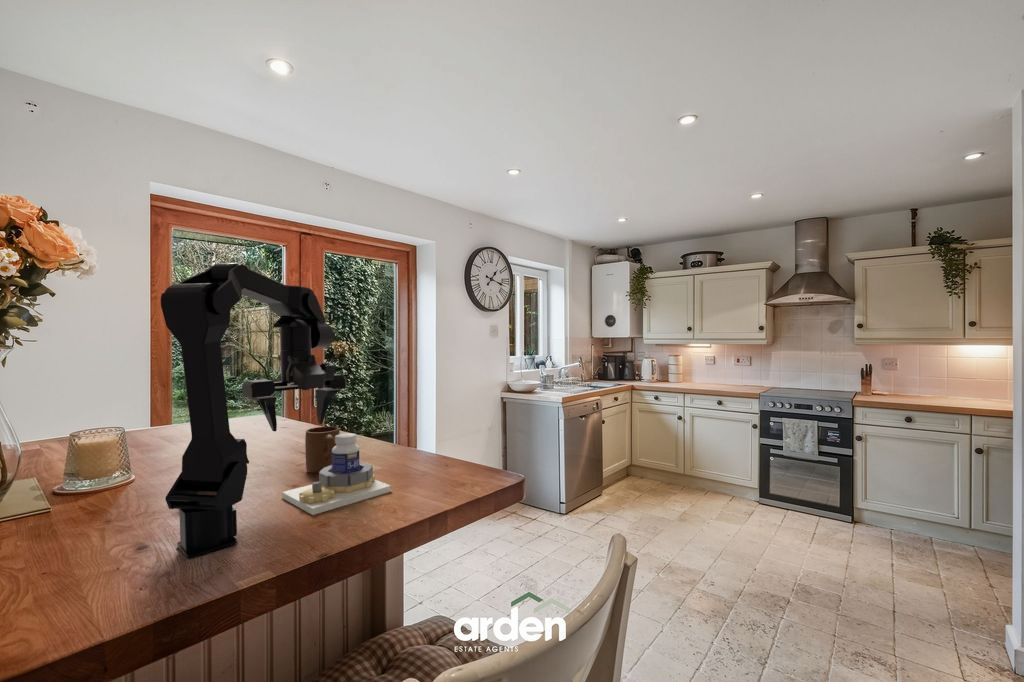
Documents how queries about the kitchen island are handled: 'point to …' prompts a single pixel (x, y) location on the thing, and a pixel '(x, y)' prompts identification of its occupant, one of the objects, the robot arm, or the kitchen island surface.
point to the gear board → (336, 490)
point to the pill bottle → (345, 454)
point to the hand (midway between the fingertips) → (298, 427)
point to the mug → (319, 447)
